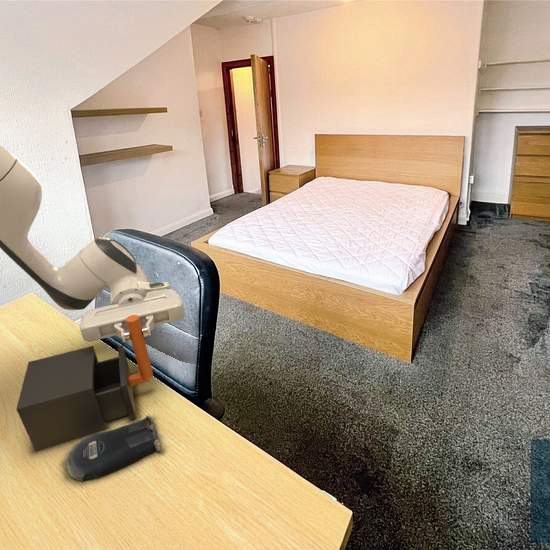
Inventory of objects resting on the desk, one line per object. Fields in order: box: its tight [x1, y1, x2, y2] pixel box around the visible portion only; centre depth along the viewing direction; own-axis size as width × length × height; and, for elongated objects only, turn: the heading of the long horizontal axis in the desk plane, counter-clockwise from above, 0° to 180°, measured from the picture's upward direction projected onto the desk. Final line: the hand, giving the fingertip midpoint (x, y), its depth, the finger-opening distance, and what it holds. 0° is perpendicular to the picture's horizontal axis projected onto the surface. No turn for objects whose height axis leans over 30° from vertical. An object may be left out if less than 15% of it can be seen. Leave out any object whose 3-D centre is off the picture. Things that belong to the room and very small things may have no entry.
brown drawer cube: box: [15, 345, 107, 452], centre depth 79 cm, size 12×14×11 cm
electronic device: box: [65, 413, 161, 482], centre depth 72 cm, size 9×6×15 cm
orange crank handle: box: [94, 315, 154, 423], centre depth 79 cm, size 16×14×18 cm
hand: (136, 335), depth 78 cm, fingers closed on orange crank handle, 2 cm apart
